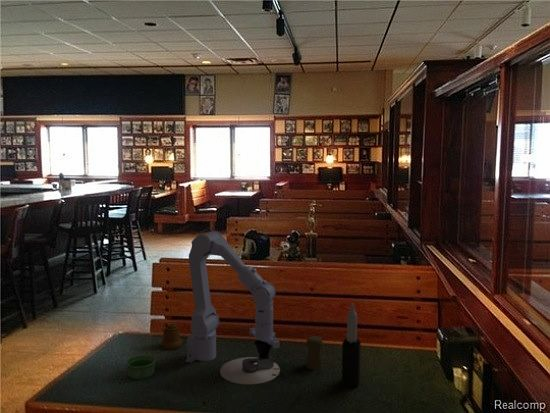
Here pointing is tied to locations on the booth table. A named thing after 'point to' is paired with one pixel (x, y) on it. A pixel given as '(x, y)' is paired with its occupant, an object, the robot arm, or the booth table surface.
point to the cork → (314, 354)
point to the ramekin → (141, 366)
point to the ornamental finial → (171, 337)
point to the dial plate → (247, 373)
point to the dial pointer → (257, 363)
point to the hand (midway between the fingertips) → (263, 362)
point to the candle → (351, 352)
